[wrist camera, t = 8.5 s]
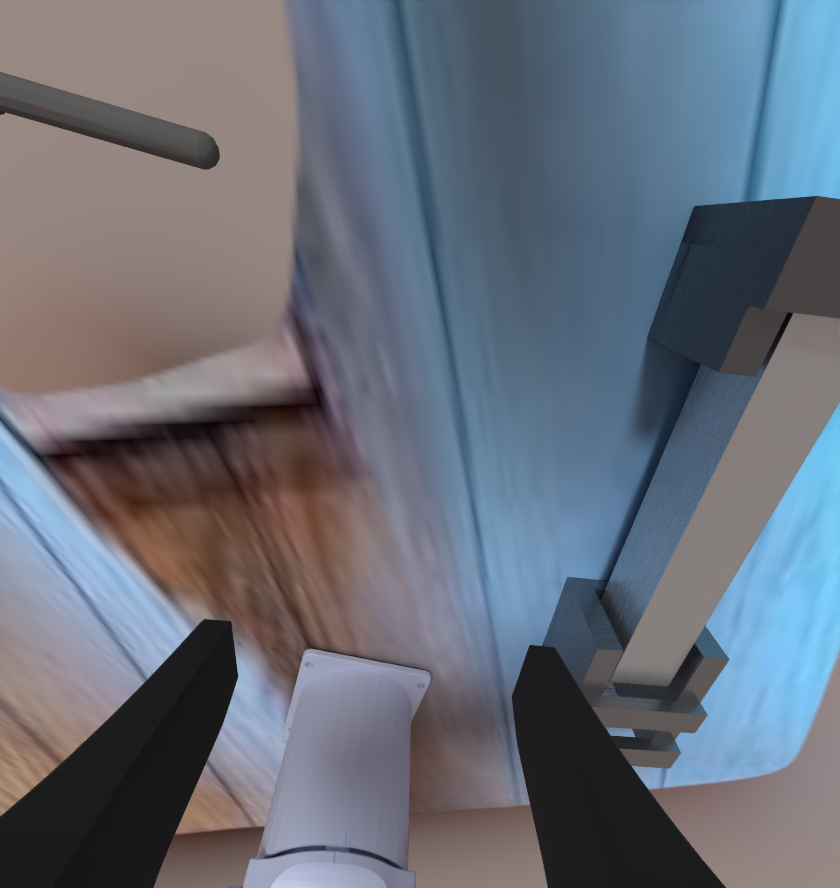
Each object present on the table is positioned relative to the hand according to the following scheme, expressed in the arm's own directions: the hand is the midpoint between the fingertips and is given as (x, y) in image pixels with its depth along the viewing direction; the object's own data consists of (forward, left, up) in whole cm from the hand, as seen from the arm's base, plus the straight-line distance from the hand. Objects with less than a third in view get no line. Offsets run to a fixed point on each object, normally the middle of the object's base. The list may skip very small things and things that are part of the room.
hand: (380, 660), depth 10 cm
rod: (+2, -13, -9) cm, 16 cm away
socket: (+11, -11, -10) cm, 19 cm away
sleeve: (-8, -15, -10) cm, 20 cm away
